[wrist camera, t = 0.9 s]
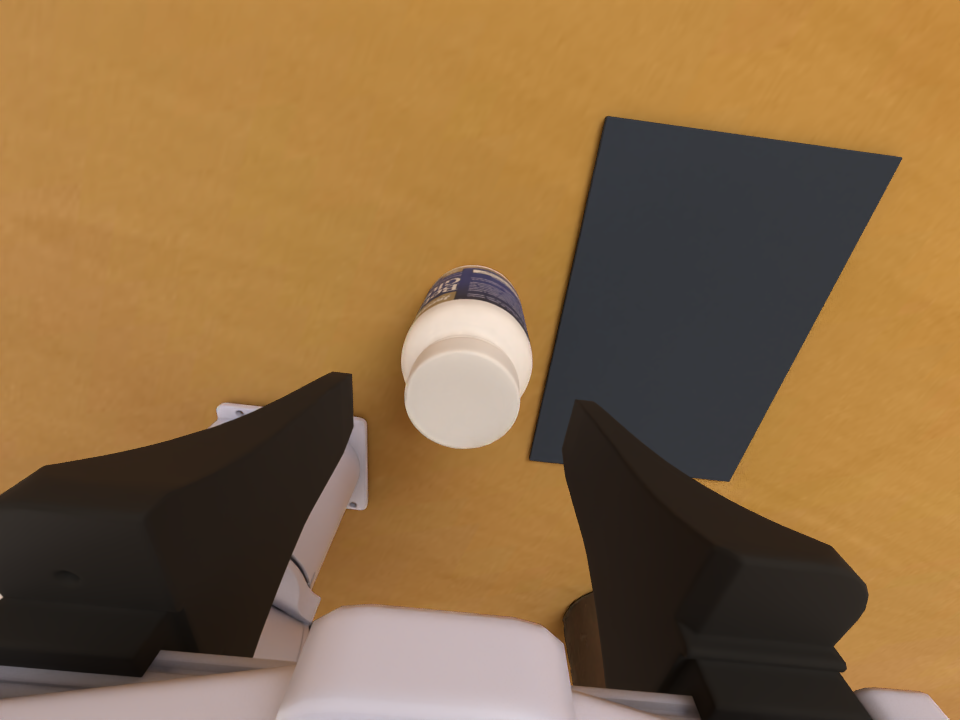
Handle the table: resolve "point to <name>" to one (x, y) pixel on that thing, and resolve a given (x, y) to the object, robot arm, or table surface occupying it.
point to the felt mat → (700, 283)
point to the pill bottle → (467, 359)
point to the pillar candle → (584, 643)
